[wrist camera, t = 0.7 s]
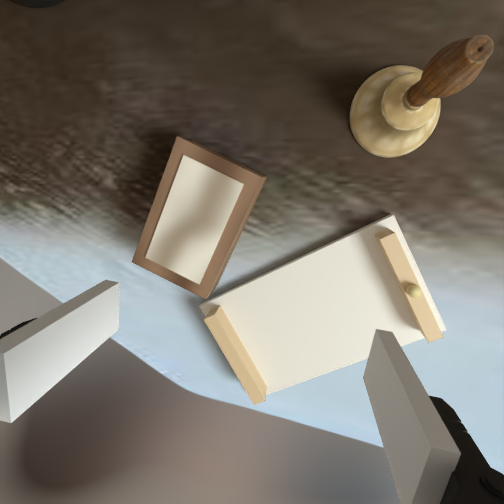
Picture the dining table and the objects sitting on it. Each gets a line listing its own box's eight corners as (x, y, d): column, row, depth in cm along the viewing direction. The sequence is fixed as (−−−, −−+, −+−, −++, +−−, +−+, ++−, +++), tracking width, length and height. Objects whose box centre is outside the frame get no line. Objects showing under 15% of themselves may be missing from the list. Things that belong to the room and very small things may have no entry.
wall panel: (201, 303, 39) (189, 318, 34) (391, 213, 33) (403, 219, 29) (254, 394, 41) (249, 419, 36) (442, 325, 35) (461, 346, 31)
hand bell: (340, 150, 32) (375, 129, 17) (360, 61, 30) (421, -59, 15) (424, 163, 31) (542, 153, 16) (451, 71, 29) (618, -44, 14)
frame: (153, 251, 38) (130, 262, 33) (194, 141, 34) (176, 135, 29) (218, 283, 38) (205, 300, 33) (267, 176, 34) (261, 177, 29)
